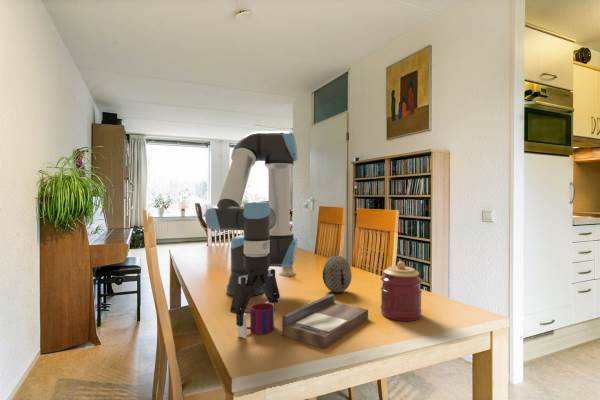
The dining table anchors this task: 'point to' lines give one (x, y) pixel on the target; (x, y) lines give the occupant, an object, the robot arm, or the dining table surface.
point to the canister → (401, 293)
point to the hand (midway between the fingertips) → (256, 330)
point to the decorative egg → (337, 274)
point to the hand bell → (287, 271)
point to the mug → (261, 318)
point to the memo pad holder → (322, 321)
